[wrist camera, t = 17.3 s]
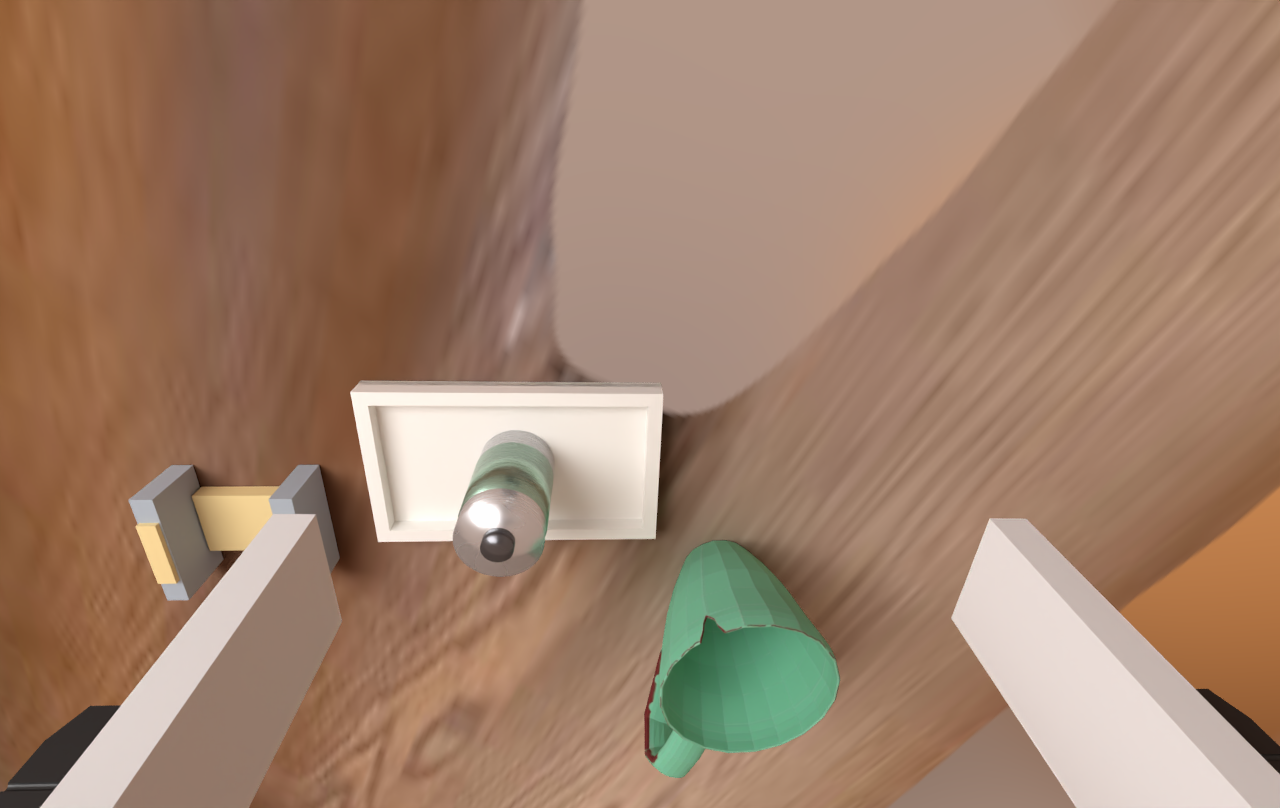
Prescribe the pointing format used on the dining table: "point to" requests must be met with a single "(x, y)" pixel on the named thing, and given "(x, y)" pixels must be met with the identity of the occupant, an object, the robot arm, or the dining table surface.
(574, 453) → the tray
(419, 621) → the dining table surface
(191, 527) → the cradle
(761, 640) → the mug
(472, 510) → the cell
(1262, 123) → the dining table surface
